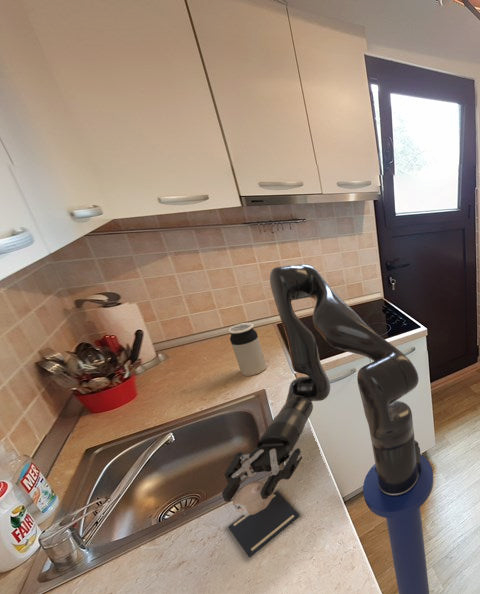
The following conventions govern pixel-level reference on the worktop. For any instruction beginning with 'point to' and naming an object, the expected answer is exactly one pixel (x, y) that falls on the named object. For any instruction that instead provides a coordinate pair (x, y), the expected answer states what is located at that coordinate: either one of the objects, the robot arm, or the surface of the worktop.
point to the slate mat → (263, 524)
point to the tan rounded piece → (251, 499)
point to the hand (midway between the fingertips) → (244, 497)
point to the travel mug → (247, 349)
